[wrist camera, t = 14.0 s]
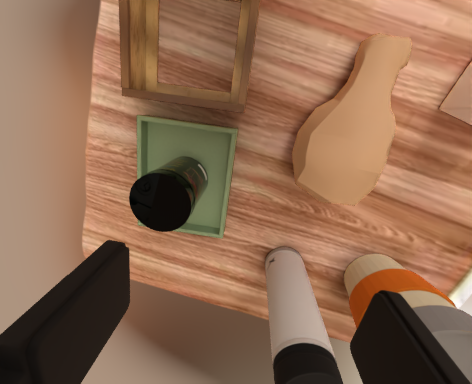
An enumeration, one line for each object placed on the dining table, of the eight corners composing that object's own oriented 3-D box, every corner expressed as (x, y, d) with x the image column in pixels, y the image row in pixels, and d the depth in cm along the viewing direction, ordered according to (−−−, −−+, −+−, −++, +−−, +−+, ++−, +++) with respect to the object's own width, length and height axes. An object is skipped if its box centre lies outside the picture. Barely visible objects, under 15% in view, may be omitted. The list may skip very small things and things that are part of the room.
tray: (146, 114, 32) (136, 114, 30) (238, 128, 32) (237, 129, 29) (145, 217, 38) (137, 225, 35) (224, 229, 37) (222, 238, 35)
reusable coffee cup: (426, 280, 38) (531, 381, 23) (359, 317, 41) (415, 424, 27) (384, 229, 35) (473, 306, 21) (317, 272, 39) (354, 363, 24)
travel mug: (259, 249, 38) (265, 383, 19) (299, 243, 37) (347, 377, 18) (266, 280, 40) (278, 429, 21) (304, 274, 39) (353, 426, 20)
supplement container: (155, 170, 34) (116, 193, 24) (191, 146, 32) (165, 160, 22) (182, 206, 36) (155, 241, 26) (218, 185, 34) (204, 214, 24)
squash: (277, 184, 34) (276, 193, 26) (330, 43, 30) (349, -3, 22) (349, 209, 33) (373, 228, 24) (414, 64, 29) (472, 24, 20)
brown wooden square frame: (140, -35, 27) (116, -67, 22) (264, -19, 26) (266, -48, 22) (141, 98, 32) (121, 95, 27) (245, 113, 31) (244, 113, 26)
